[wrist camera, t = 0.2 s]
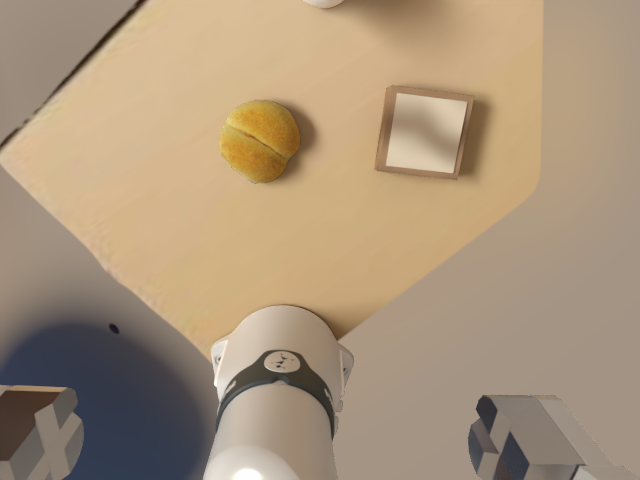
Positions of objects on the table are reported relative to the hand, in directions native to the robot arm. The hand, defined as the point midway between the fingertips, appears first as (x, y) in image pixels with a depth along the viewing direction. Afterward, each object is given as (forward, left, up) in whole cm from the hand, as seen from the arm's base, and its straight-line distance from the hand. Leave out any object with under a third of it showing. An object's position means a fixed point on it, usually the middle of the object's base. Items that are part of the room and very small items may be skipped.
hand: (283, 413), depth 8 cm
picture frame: (+7, -13, -40) cm, 42 cm away
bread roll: (+4, +5, -40) cm, 41 cm away
